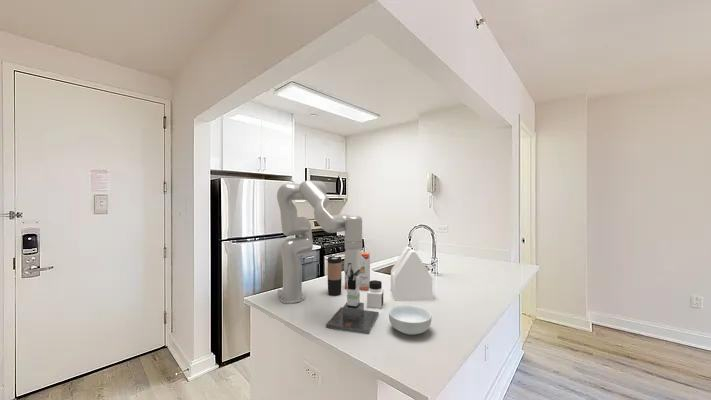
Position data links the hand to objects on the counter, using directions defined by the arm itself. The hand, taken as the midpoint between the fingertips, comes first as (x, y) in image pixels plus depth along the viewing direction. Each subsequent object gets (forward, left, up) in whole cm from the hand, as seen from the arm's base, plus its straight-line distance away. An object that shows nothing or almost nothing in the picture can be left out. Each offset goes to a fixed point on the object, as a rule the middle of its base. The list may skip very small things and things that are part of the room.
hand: (353, 287), depth 120 cm
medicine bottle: (+5, +20, -15) cm, 26 cm away
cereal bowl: (+24, -1, -15) cm, 28 cm away
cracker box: (-10, +41, -15) cm, 45 cm away
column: (0, 0, -7) cm, 7 cm away
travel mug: (-20, +29, -15) cm, 38 cm away
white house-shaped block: (+20, +39, -15) cm, 46 cm away
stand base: (0, 0, -15) cm, 15 cm away
